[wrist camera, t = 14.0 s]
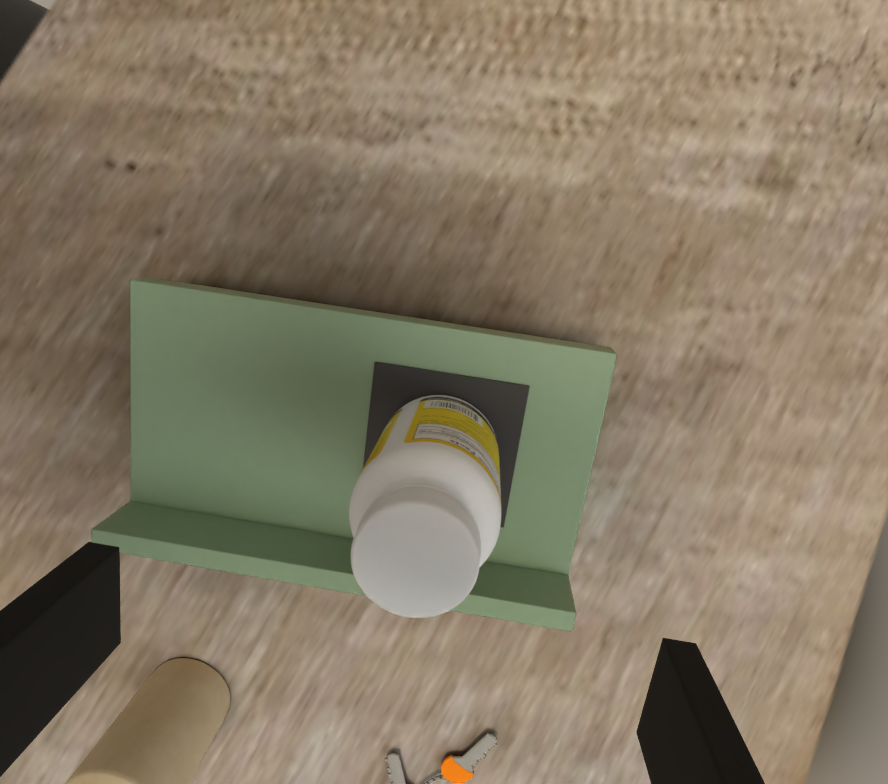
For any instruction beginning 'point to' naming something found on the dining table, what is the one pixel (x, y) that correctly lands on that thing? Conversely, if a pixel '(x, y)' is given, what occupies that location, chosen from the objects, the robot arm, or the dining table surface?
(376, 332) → the green l-shaped stand
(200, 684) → the candle
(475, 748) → the key chain
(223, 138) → the dining table surface
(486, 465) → the supplement bottle
